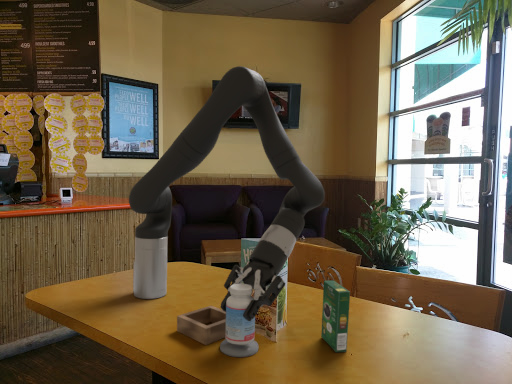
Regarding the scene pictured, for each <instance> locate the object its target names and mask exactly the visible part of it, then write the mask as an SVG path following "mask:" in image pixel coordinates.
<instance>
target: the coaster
mask: <svg viewBox="0 0 512 384" xmlns="http://www.w3.org/2000/svg"><path fill="white" fill-rule="evenodd" d="M219 349H220V352H221V353H222V354H224V355H226V356H230V357H233V358H245V357H251V356H253V355H256V354H257V353H258V351H259V344H258V342H257V341H256V340H255V339H254V340H253V341H252V342H251V343H249V344H245V345H238V344H231V343H229V342H228V341H227V340H226V339H224V340H223V341H221V343H220V345H219Z"/></svg>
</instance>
